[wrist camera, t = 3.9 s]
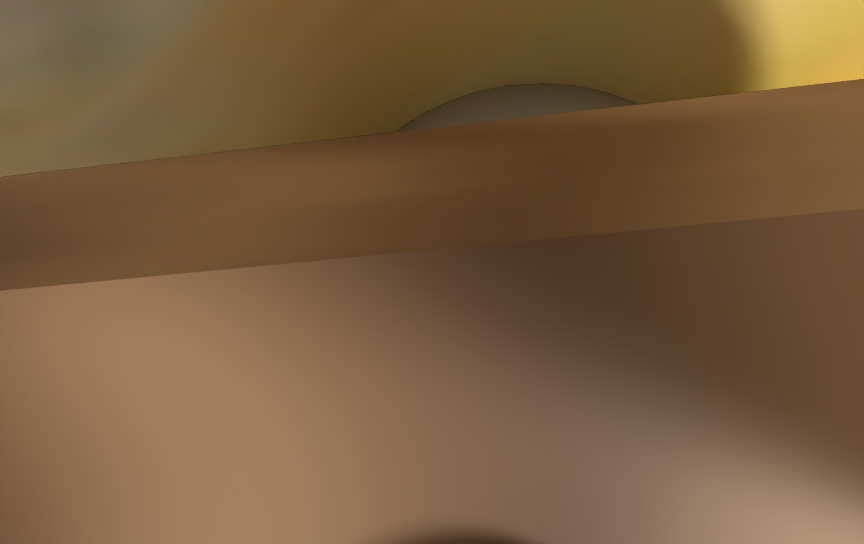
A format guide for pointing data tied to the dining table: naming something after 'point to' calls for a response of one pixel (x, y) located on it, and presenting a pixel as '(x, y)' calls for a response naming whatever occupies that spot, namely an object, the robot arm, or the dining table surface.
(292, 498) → the lid
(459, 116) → the grey flattened dome
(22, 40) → the dining table surface
